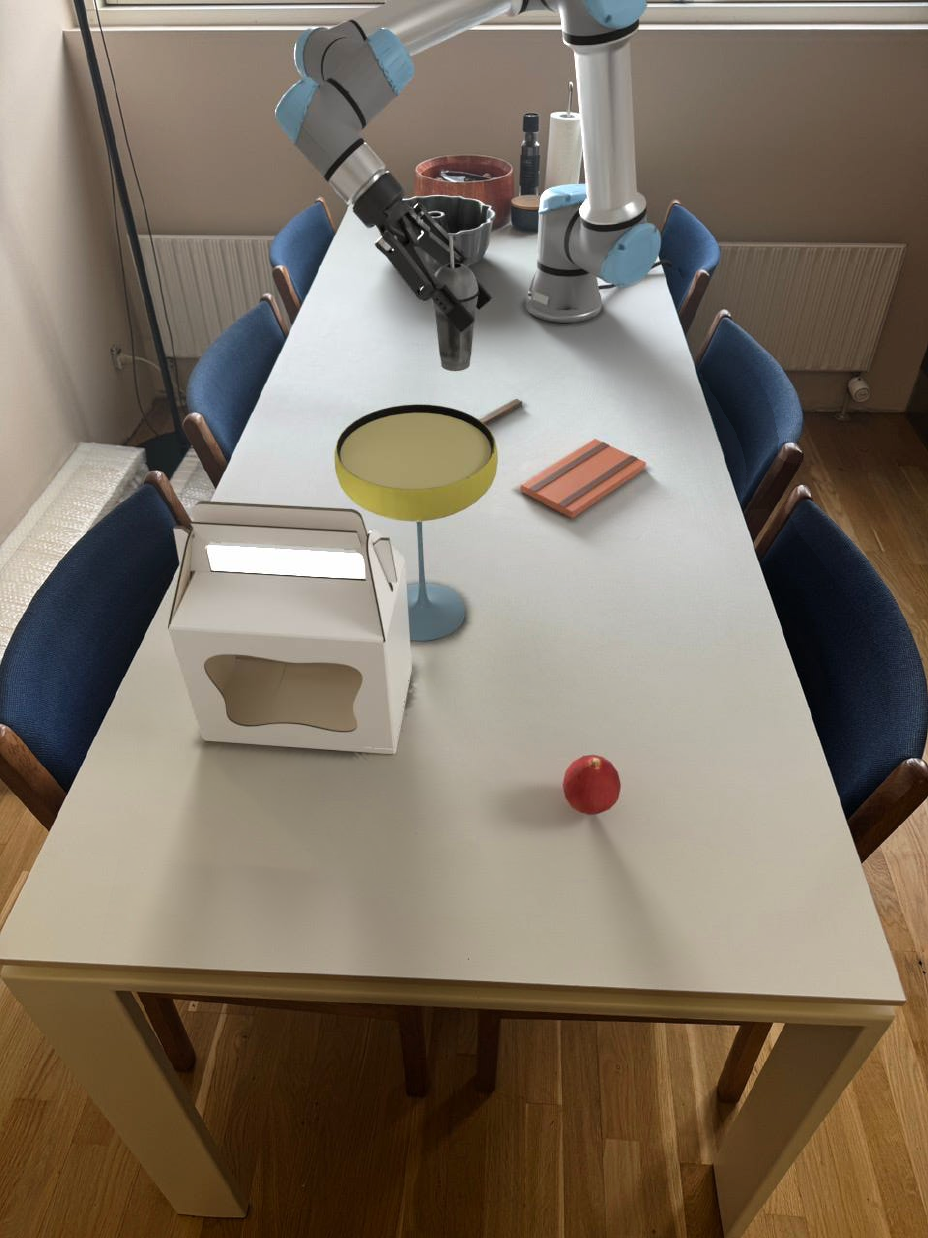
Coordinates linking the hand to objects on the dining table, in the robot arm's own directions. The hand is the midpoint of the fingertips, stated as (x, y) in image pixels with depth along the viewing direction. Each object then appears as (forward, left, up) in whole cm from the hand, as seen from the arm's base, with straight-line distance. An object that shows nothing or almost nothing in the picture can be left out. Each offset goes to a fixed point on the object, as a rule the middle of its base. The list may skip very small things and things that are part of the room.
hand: (476, 314), depth 134 cm
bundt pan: (-48, -58, -21) cm, 78 cm away
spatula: (-2, -2, -20) cm, 21 cm away
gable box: (+56, +27, -21) cm, 66 cm away
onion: (+45, +59, -21) cm, 77 cm away
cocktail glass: (+36, +25, -21) cm, 49 cm away
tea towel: (-2, +21, -20) cm, 29 cm away
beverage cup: (+1, -3, -9) cm, 9 cm away
